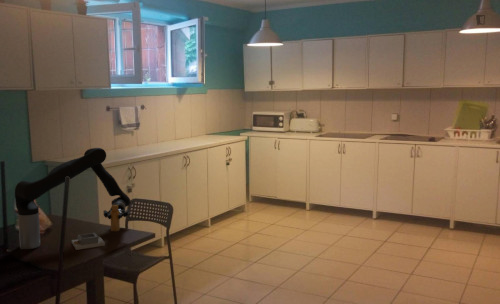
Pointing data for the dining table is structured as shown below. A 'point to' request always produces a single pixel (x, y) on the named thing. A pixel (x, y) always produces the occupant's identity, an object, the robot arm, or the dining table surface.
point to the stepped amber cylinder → (115, 218)
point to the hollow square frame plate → (88, 241)
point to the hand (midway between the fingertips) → (114, 217)
